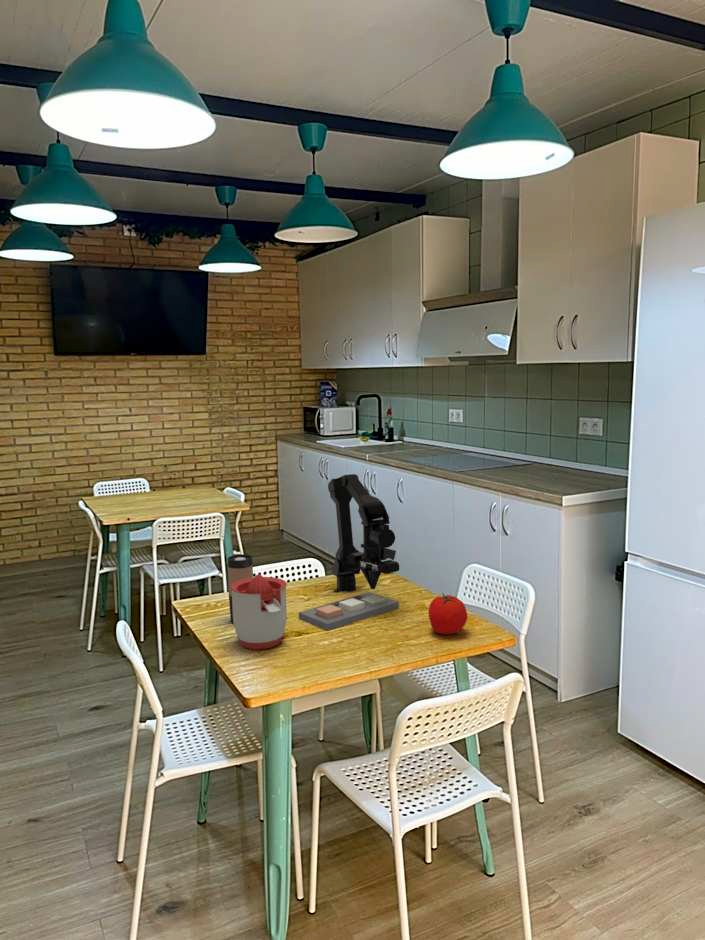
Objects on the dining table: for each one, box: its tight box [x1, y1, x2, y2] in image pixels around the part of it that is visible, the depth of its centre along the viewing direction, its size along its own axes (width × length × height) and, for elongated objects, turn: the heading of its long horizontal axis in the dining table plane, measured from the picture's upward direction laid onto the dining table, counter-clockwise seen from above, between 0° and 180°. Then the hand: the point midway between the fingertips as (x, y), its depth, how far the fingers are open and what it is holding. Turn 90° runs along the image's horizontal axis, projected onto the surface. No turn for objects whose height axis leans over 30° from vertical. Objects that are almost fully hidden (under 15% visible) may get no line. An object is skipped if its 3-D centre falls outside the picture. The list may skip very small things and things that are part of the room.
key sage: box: [361, 595, 386, 606], centre depth 225 cm, size 6×6×2 cm
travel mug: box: [227, 553, 254, 625], centre depth 217 cm, size 8×8×20 cm
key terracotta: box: [316, 605, 342, 620], centre depth 213 cm, size 6×6×2 cm
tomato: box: [428, 592, 468, 635], centre depth 204 cm, size 12×12×11 cm
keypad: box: [298, 591, 400, 632], centre depth 220 cm, size 14×29×3 cm, turn 131°
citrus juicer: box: [231, 573, 288, 651], centre depth 198 cm, size 16×17×20 cm
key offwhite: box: [339, 598, 364, 613], centre depth 219 cm, size 6×6×2 cm
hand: (373, 588), depth 224 cm, fingers closed
